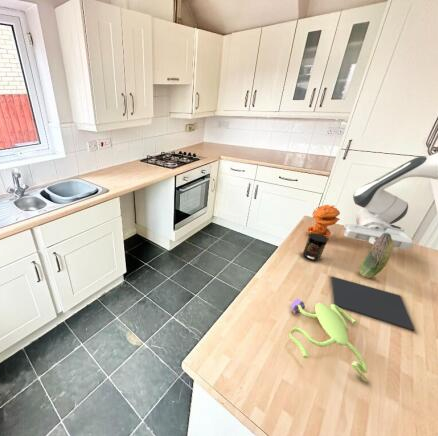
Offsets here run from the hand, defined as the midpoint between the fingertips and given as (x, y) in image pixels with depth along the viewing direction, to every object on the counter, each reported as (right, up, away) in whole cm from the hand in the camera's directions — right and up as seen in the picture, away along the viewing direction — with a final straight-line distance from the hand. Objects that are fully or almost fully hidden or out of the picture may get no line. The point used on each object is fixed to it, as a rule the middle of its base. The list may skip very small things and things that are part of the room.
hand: (380, 246), depth 91 cm
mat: (-11, -19, -7) cm, 22 cm away
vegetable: (-1, -13, +4) cm, 13 cm away
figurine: (-35, -26, -18) cm, 47 cm away
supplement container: (-16, -7, +16) cm, 23 cm away
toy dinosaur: (-3, +1, +29) cm, 29 cm away
